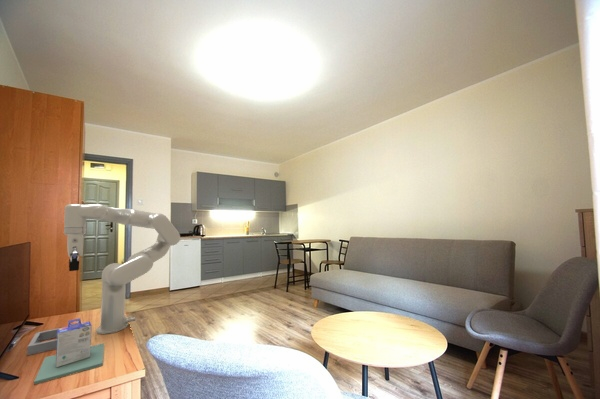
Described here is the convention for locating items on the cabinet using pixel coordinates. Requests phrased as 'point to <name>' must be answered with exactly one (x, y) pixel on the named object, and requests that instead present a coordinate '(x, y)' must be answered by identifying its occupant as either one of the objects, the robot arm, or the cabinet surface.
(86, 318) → the cabinet surface
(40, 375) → the place mat
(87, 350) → the ink cartridge box
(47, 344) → the pocket holder
